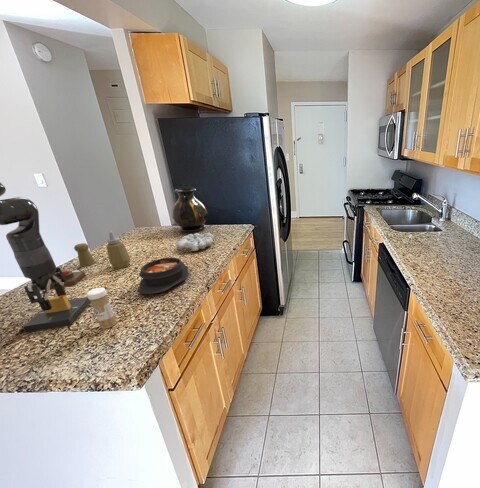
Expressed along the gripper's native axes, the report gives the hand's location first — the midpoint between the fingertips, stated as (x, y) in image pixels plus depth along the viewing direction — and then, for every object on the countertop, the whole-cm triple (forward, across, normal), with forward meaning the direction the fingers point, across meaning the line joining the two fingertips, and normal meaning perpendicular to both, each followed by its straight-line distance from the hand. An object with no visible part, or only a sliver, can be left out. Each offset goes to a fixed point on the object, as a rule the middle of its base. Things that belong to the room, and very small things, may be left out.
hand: (55, 302), depth 90 cm
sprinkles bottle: (+6, +11, +18) cm, 22 cm away
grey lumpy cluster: (+6, -56, +38) cm, 68 cm away
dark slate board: (+6, 0, 0) cm, 6 cm away
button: (+2, -29, -12) cm, 32 cm away
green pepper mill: (+6, -47, -11) cm, 49 cm away
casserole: (+6, -15, +30) cm, 34 cm away
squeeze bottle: (+6, -39, +6) cm, 40 cm away
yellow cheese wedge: (+3, 0, 0) cm, 3 cm away
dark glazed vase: (+6, -90, +32) cm, 95 cm away
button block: (+6, -29, -12) cm, 32 cm away
